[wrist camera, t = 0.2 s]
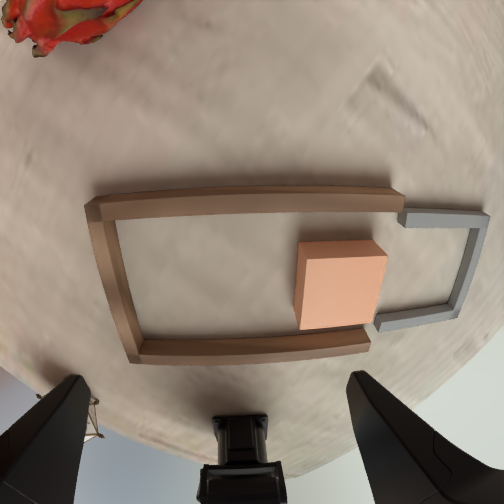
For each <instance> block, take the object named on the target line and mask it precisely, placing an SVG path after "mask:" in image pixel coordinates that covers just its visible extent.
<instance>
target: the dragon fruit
mask: <svg viewBox="0 0 504 504" xmlns="http://www.w3.org/2000/svg"><path fill="white" fill-rule="evenodd" d="M142 1H143V0H7V2H6V3H5V4H4V6H3V7H2V13H3V16H2V18H1V20H3V21H2V24H3V26H4V27H5V28H12V27H13V32H12V33H11V31H9V30H8V32H9V33H8V35H9V36H10V37H11V38H13V39H14V40H15V42H16V43H19V42H22V41H23V40H25V39H26V38H27V37H29V38H31V39H32V41H33V42H36V43H37V45H34V46H33V48H32V53H33V57H34V58H36V57H45V56H47V55H48V54H49V53H50V52H51V51H52V50H53V49H54V47H55V46H56V45H57V44H58V43H60V42H61V41H70V42H76V43H79V44H89V43H93V42H95V41H97V40H99V39H100V38H101V37H102V36H103V35H102V34H104V33H106V32H108V31H109V30H110V29H111V28H112V27H114V26H115V24H116V23H117V22H118V21H119V20H121V19H122V18H124V17H125V16H126V15H128V14H129V13H130V12H131V11H132V10H133V9H135V8H136V7H137V6H138V5H139V4H140V3H141V2H142Z"/></svg>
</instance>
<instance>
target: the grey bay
mask: <svg viewBox="0 0 504 504" xmlns="http://www.w3.org/2000/svg"><path fill="white" fill-rule="evenodd" d="M489 220H490V216H489V215H487V214H486V213H484V212H482V211H467V210H449V209H427V208H403V212H399V216H398V223H399V224H401V225H402V226H403V227H404V228H471V230H470V234H469V238H468V242H467V246H466V249H465V253H464V256H463V260H462V263H461V266H460V269H459V273H458V276H457V279H456V282H455V285H454V287H453V290H452V293H451V296H450V299H449V301H448V304H443V305H437V306H431V307H425V308H419V309H413V310H406V311H399V312H392V313H384V314H377V315H376V319H375V322H374V326H375V327H376V329H377V331H378V333H379V332H386V331H392V330H398V329H404V328H409V327H415V326H420V325H425V324H431V323H435V322H440V321H445V320H450V319H454V318H457V317H458V315H459V312H460V310H461V307H462V305H463V303H464V300H465V297H466V295H467V292H468V289H469V287H470V284H471V281H472V278H473V275H474V272H475V269H476V266H477V263H478V260H479V257H480V253H481V250H482V247H483V243H484V239H485V236H486V232H487V228H488V224H489Z"/></svg>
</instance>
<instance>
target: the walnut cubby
mask: <svg viewBox="0 0 504 504" xmlns="http://www.w3.org/2000/svg"><path fill="white" fill-rule="evenodd" d="M404 201H405V196H404V195H403V194H401V193H399V192H398V191H396V190H394V189H392V188H379V187H355V186H236V187H211V188H192V189H176V190H162V191H149V192H137V193H126V194H116V195H107V196H98V197H95V198H94V199H92V200H91V201H89V202H88V203H87V204H85V205H84V207H85V213H86V218H87V223H88V228H89V232H90V237H91V241H92V245H93V250H94V254H95V258H96V262H97V265H98V269H99V273H100V276H101V280H102V284H103V287H104V290H105V294H106V297H107V300H108V303H109V307H110V310H111V313H112V316H113V319H114V322H115V325H116V327H117V330H118V333H119V336H120V339H121V341H122V344H123V347H124V349H125V352H126V354H127V357H128V360H129V362H130V363H133V364H152V365H240V364H260V363H275V362H288V361H299V360H309V359H318V358H327V357H335V356H342V355H349V354H356V353H363V352H368V351H369V348H370V345H371V341H370V339H369V337H368V335H367V333H366V331H365V329H364V328H361V329H353V330H345V331H336V332H326V333H316V334H305V335H293V336H280V337H264V338H244V339H214V340H153V339H143V335H142V332H141V329H140V325H139V322H138V319H137V315H136V312H135V308H134V304H133V301H132V297H131V293H130V289H129V285H128V281H127V277H126V273H125V269H124V264H123V260H122V255H121V250H120V246H119V241H118V236H117V230H116V225H115V220H125V219H140V218H155V217H172V216H191V215H213V214H240V213H276V212H403V207H404Z"/></svg>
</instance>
